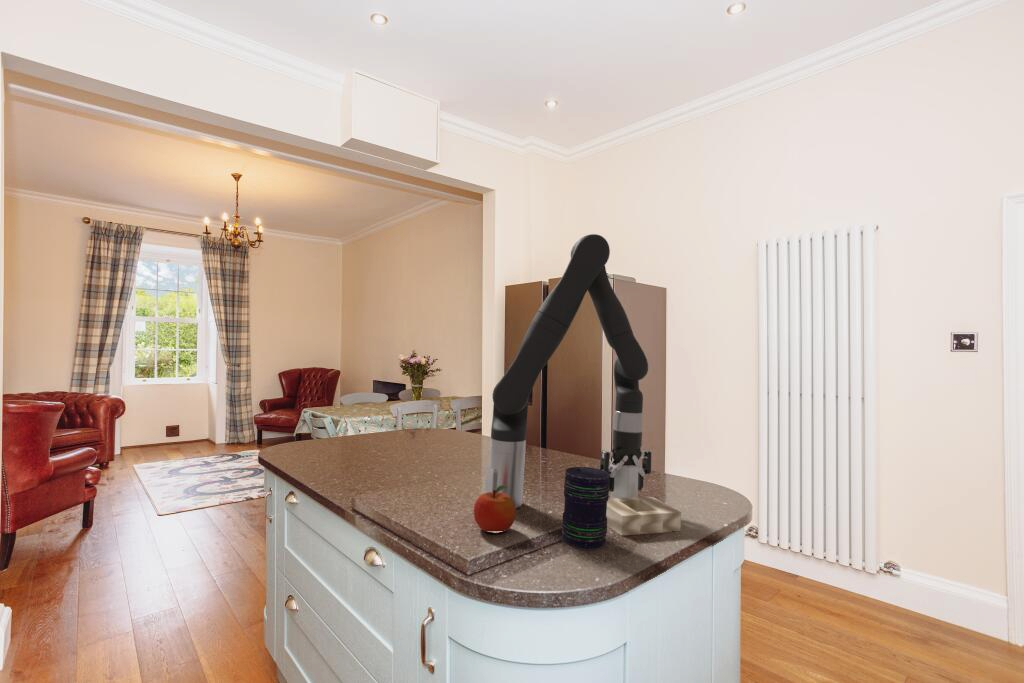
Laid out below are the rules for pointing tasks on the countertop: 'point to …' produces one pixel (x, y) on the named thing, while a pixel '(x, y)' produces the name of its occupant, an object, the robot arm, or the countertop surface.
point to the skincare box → (626, 482)
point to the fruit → (494, 511)
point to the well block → (641, 516)
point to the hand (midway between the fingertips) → (624, 490)
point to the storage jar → (585, 508)
